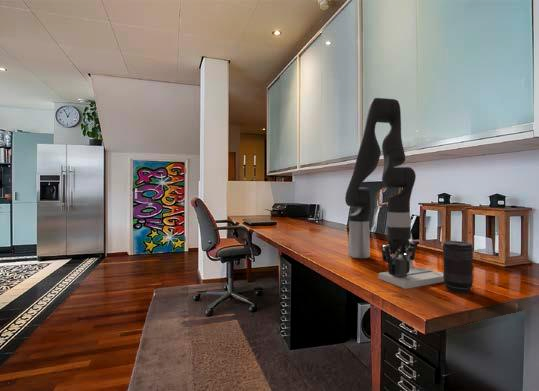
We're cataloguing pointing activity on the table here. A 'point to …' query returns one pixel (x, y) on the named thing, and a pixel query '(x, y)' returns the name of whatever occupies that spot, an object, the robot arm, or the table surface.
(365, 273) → the table surface
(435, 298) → the table surface
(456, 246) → the camera lens
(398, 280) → the fader console
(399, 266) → the fader tab
